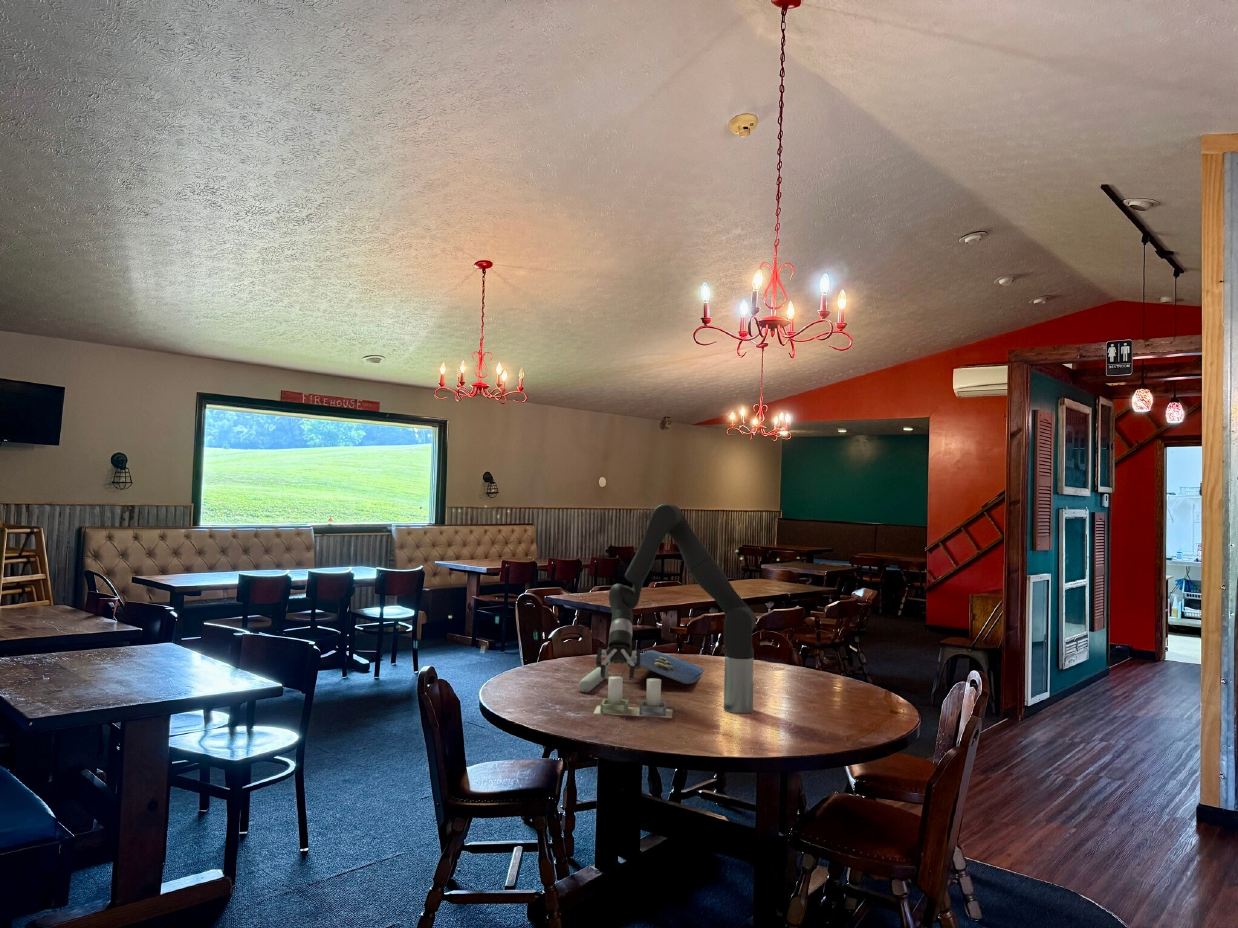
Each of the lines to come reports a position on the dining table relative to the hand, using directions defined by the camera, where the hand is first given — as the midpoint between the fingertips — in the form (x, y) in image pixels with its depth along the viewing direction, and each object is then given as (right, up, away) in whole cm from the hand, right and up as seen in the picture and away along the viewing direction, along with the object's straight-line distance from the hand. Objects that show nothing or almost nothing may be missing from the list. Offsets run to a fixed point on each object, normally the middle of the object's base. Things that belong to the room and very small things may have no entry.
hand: (616, 677), depth 255 cm
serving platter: (+18, -15, +57) cm, 62 cm away
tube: (-9, -13, +37) cm, 40 cm away
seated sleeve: (+11, -10, -4) cm, 15 cm away
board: (+5, -11, -4) cm, 13 cm away
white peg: (-1, -9, -3) cm, 10 cm away
